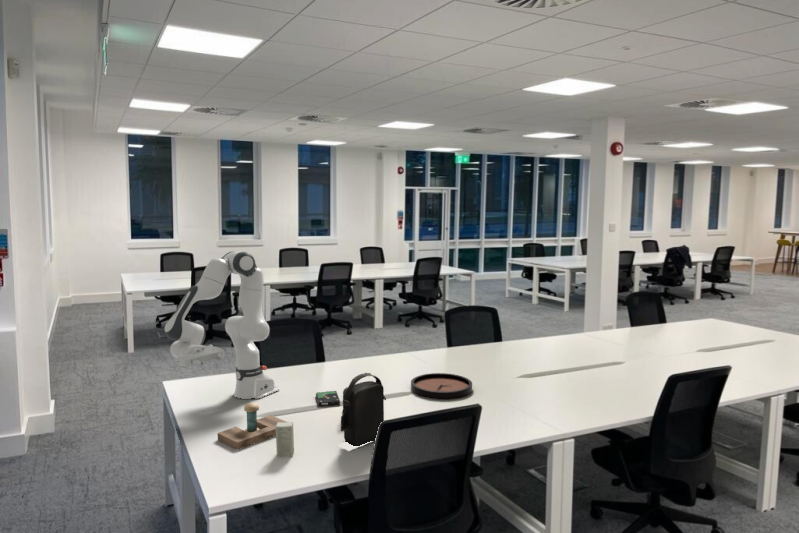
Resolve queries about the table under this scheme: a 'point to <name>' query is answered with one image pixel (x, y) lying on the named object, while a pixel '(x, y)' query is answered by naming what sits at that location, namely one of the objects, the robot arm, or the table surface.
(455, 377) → the wall clock
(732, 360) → the table surface
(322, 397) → the disk drive
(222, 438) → the notched board
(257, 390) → the robot arm
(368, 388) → the shoulder bag
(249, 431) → the bobbin
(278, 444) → the skincare box
